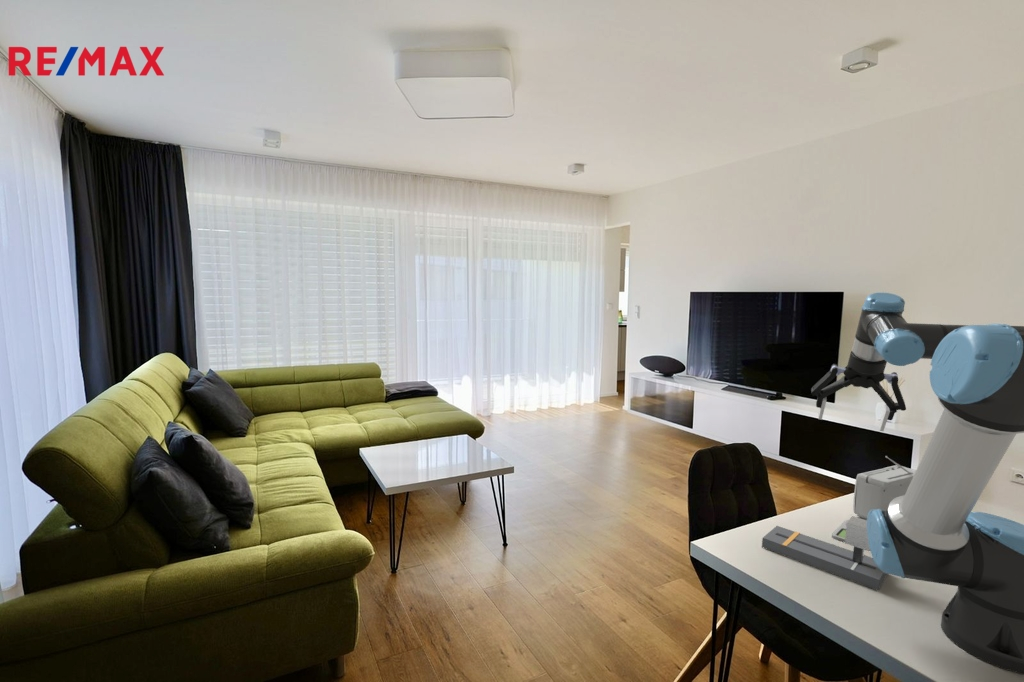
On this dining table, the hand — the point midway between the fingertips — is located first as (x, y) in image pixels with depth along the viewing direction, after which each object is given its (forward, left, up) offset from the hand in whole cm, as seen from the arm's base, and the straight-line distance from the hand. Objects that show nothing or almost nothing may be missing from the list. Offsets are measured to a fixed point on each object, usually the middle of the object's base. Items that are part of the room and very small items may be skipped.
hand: (849, 422), depth 130 cm
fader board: (-13, +16, -30) cm, 37 cm away
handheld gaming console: (-3, -4, -31) cm, 31 cm away
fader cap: (-18, +12, -28) cm, 35 cm away
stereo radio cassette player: (+8, -22, -31) cm, 39 cm away
